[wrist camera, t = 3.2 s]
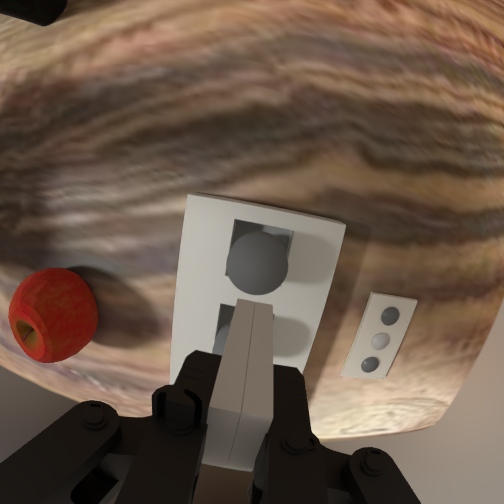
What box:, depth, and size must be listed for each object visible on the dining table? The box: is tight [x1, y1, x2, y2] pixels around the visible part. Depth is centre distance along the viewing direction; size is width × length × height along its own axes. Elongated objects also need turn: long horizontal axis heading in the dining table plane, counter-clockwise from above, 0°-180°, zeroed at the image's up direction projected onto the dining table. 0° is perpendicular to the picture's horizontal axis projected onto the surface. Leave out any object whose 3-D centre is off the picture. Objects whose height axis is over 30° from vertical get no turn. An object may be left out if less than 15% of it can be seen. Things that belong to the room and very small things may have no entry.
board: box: [170, 193, 346, 385], centre depth 29 cm, size 14×24×3 cm, turn 169°
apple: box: [8, 268, 99, 363], centre depth 26 cm, size 11×11×11 cm
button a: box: [226, 231, 288, 295], centre depth 24 cm, size 5×5×5 cm
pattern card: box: [340, 291, 418, 379], centre depth 30 cm, size 6×11×1 cm, turn 169°
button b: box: [212, 320, 232, 355], centre depth 26 cm, size 5×5×5 cm
